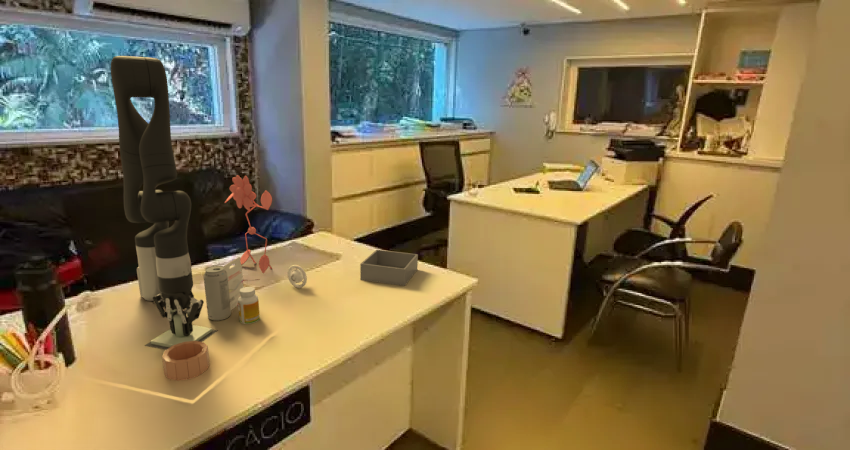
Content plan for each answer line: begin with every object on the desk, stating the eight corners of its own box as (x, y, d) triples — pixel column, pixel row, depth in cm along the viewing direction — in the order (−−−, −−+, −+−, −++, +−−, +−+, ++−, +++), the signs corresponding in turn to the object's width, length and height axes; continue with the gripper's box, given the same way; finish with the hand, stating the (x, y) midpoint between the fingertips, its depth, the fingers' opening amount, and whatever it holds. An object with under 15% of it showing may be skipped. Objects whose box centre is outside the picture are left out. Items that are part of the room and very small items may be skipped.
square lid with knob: (150, 343, 115) (147, 321, 113) (180, 325, 124) (178, 304, 123) (184, 350, 113) (181, 327, 111) (212, 331, 122) (210, 309, 120)
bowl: (156, 378, 103) (153, 358, 101) (185, 357, 111) (183, 338, 110) (190, 385, 101) (187, 365, 99) (217, 363, 109) (215, 344, 108)
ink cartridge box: (230, 299, 142) (226, 254, 138) (245, 301, 141) (241, 256, 137) (213, 311, 134) (208, 264, 130) (228, 313, 133) (224, 266, 129)
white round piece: (284, 286, 153) (283, 264, 151) (296, 281, 158) (295, 259, 156) (302, 292, 149) (302, 269, 147) (314, 286, 154) (313, 263, 152)
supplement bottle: (264, 318, 131) (261, 287, 128) (251, 327, 126) (248, 294, 124) (248, 315, 133) (245, 284, 130) (235, 323, 128) (232, 291, 125)
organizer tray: (360, 279, 161) (360, 263, 159) (376, 264, 176) (376, 249, 174) (404, 285, 157) (405, 269, 155) (417, 269, 172) (417, 254, 170)
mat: (144, 347, 115) (144, 345, 114) (180, 325, 126) (180, 323, 126) (185, 355, 112) (185, 353, 112) (218, 332, 123) (218, 330, 123)
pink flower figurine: (243, 257, 178) (234, 168, 167) (289, 273, 164) (282, 176, 154) (206, 270, 165) (194, 174, 155) (252, 288, 152) (243, 184, 142)
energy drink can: (214, 312, 134) (209, 264, 129) (234, 313, 133) (230, 265, 129) (204, 322, 128) (198, 272, 124) (225, 323, 128) (220, 273, 123)
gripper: (138, 272, 112) (147, 336, 116) (187, 280, 108) (194, 345, 113) (162, 262, 119) (170, 322, 123) (209, 269, 115) (215, 330, 120)
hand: (182, 333), depth 118 cm, fingers closed on square lid with knob, 3 cm apart
